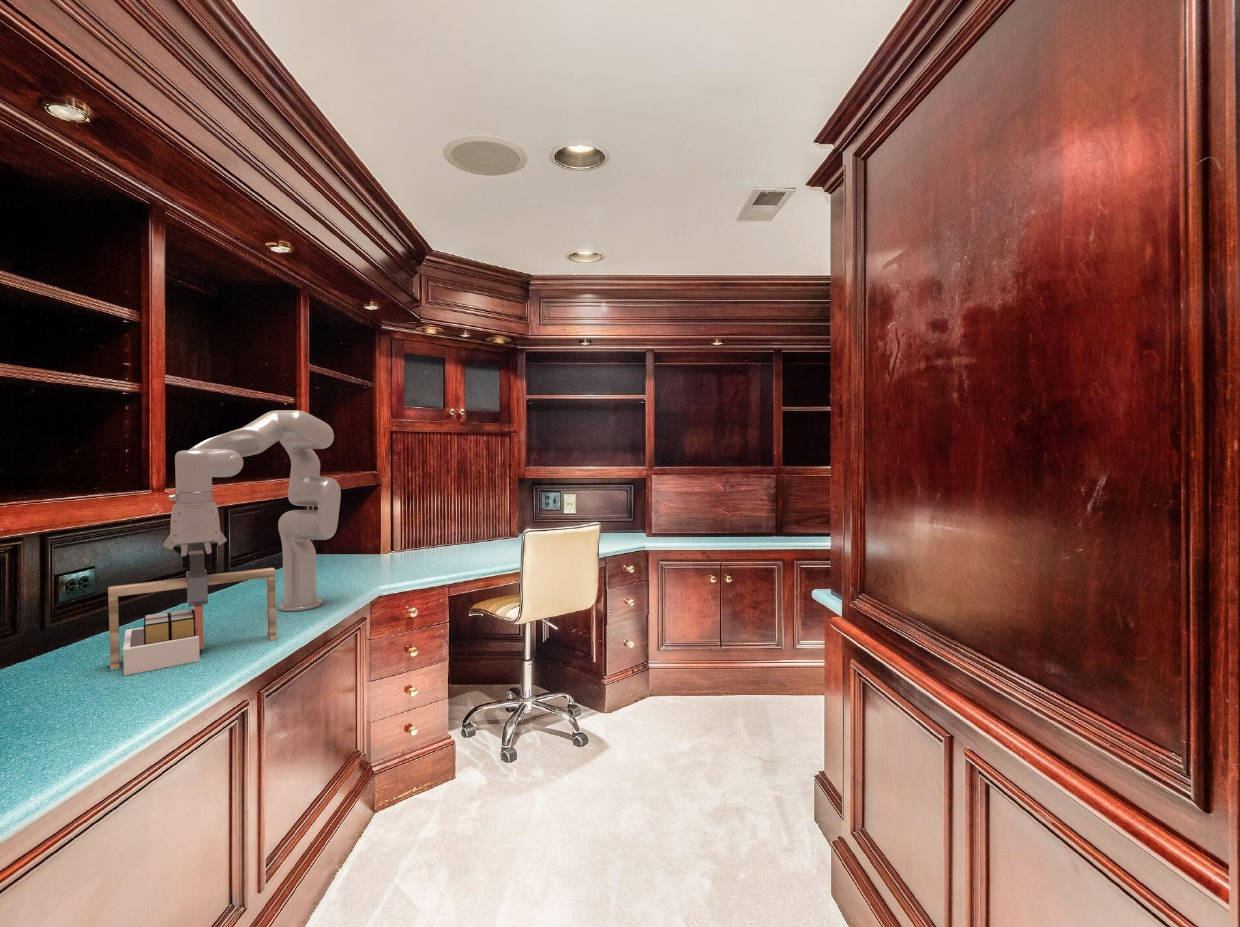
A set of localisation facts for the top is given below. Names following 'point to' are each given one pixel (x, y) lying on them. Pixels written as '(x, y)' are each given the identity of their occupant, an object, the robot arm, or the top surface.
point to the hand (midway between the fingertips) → (196, 569)
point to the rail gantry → (183, 583)
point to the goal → (156, 652)
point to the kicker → (197, 590)
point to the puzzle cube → (169, 626)
